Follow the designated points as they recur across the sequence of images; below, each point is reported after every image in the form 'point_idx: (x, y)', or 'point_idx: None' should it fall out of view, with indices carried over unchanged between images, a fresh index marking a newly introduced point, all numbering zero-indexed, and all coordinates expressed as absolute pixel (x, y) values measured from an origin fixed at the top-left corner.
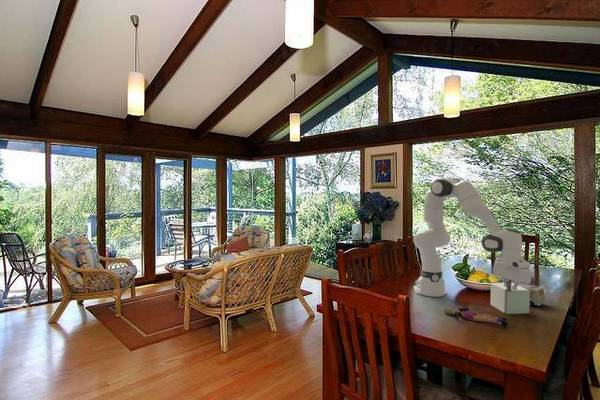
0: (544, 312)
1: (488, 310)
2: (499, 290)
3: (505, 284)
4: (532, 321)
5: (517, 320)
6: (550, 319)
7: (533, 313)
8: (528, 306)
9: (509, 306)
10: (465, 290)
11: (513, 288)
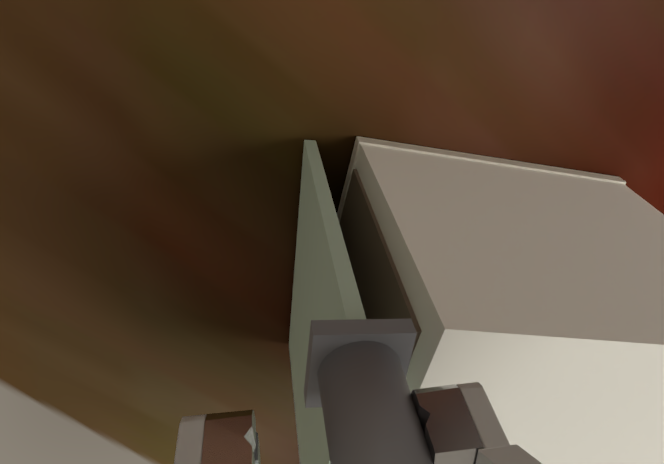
0: None
1: (488, 12)
2: (573, 300)
3: (455, 431)
4: (79, 244)
5: (107, 113)
6: (138, 403)
7: None
8: (293, 391)
9: (312, 206)
10: None
11: (194, 434)
